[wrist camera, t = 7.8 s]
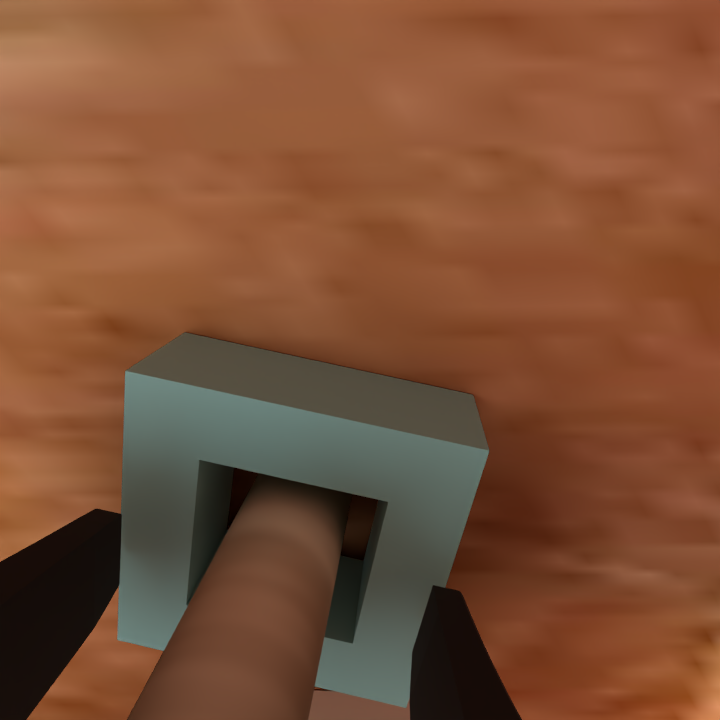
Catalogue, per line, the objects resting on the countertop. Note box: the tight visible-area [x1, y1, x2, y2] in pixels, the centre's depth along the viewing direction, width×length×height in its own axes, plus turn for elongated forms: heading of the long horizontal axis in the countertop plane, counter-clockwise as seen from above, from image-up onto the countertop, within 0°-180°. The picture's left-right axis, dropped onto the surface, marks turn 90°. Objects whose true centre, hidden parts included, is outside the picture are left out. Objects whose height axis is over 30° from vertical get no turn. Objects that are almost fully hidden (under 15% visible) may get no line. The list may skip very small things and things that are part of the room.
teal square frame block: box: [117, 333, 489, 708], centre depth 13 cm, size 8×8×3 cm
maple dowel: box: [127, 473, 352, 720], centre depth 11 cm, size 3×3×8 cm
